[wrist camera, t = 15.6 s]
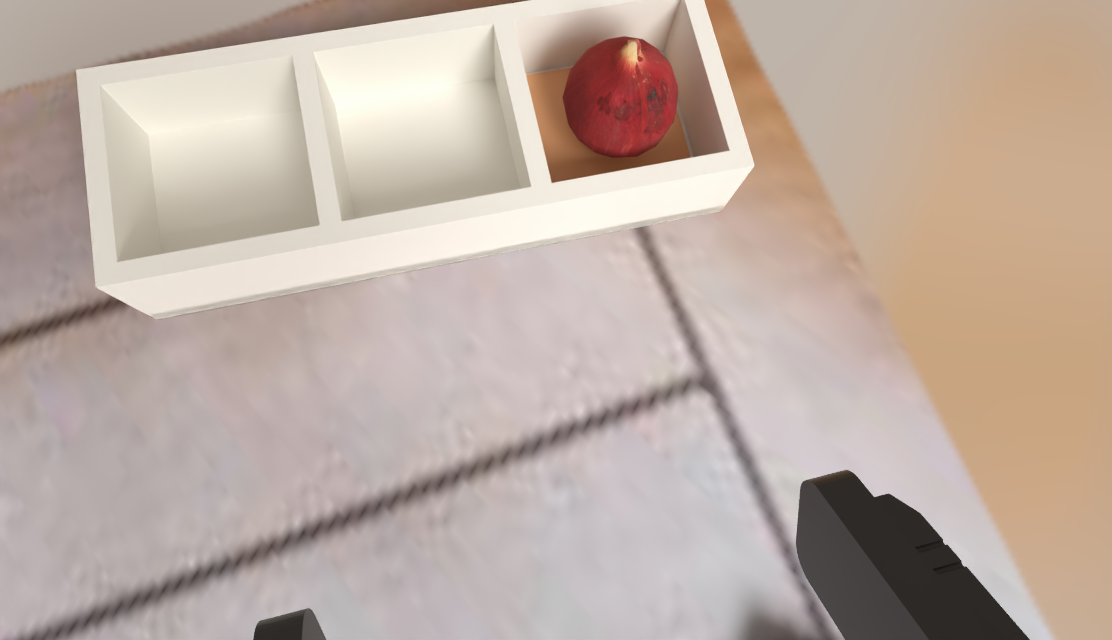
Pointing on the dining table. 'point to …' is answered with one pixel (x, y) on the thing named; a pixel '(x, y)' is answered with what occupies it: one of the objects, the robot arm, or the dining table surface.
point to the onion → (621, 97)
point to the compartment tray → (385, 151)
